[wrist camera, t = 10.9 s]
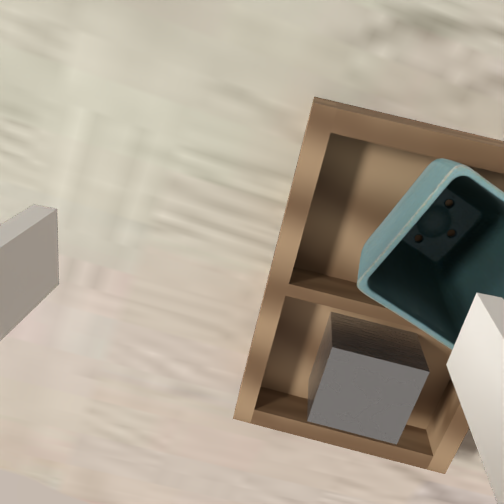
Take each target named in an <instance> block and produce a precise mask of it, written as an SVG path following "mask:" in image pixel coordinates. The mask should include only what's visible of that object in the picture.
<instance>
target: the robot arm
mask: <svg viewBox="0 0 504 504" xmlns="http://www.w3.org/2000/svg"><path fill="white" fill-rule="evenodd" d="M58 285H59V266H58V224H57V209H56V208H51V207H46V206H41V205H36V204H33V205H32V206H30V207H28V208H27V209H25V210H23V211H22V212H20V213H19V214H17V215H15V216H14V217H12V218H10V219H9V220H7V221H5V222H4V223H2V224H1V225H0V341H1V340H2V339H3V338H4V337H5V336H6V335H7V334H8V333H9V332H10V331H11V330H12V329H13V328H14V327H15V326H16V325H17V324H18V323H20V322H21V321H22V320H23V319H24V318H25V317H26V316H27V315H28V314H29V313H30V312H31V311H32V310H33V309H34V308H35V307H36V306H37V305H38V304H39V303H40V302H41V301H42V300H43V299H44V298H45V297H46V296H47V295H48V294H49V293H50V292H51V291H52V290H53V289H54V288H55V287H56V286H58ZM446 365H447V368H448V371H449V374H450V376H451V379H452V382H453V384H454V387H455V390H456V393H457V395H458V398H459V401H460V403H461V406H462V409H463V412H464V414H465V417H466V420H467V422H468V425H469V428H470V431H471V433H472V436H473V439H474V441H475V444H476V447H477V450H478V452H479V455H480V458H481V460H482V463H483V466H484V469H485V471H486V474H487V477H488V479H489V482H490V485H491V488H492V490H493V493H494V496H495V498H496V501H497V504H504V299H503V298H501V297H496V296H491V295H486V294H481V293H476V295H475V298H474V300H473V302H472V305H471V307H470V309H469V312H468V314H467V317H466V319H465V321H464V324H463V326H462V328H461V331H460V333H459V336H458V338H457V340H456V343H455V345H454V347H453V350H452V352H451V355H450V357H449V359H448V362H447V364H446Z"/></svg>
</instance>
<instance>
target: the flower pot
mask: <svg viewBox="0 0 504 504" xmlns="http://www.w3.org/2000/svg"><path fill="white" fill-rule="evenodd" d="M447 200H452V201H453V204H452V205H451V206H446V204H445V202H446V201H447ZM449 230H454V231H455V234H454V235H453V236H448V234H447V233H448V231H449ZM416 235H421V236H422V240H421V241H415V236H416ZM357 287H358V289H359V290H360V291H361V292H363V293H364V294H365V295H367V296H368V297H370V298H372V299H373V300H375V301H377V302H378V303H380V304H381V305H383V306H384V307H386V308H388V309H389V310H391V311H393V312H394V313H396V314H398V315H399V316H400V317H402V318H404V319H405V320H407V321H408V322H410V323H412V324H413V325H415V326H416V327H418V328H419V329H421V330H423V331H424V332H425V333H427V334H428V335H430V336H431V337H433V338H434V339H436V340H437V341H439V342H440V343H442V344H443V345H445V346H447V347H448V348H450V349H451V350H453V347H454V345H455V343H456V340H457V338H458V336H459V333H460V331H461V328H462V326H463V324H464V321H465V319H466V317H467V314H468V312H469V309H470V307H471V305H472V302H473V300H474V298H475V295H476V293H481V294H486V295H491V296H496V297H501V298H503V299H504V192H503V191H501V190H500V189H499V188H497V187H496V186H495V185H493V184H492V183H490V182H489V181H488V180H486V179H485V178H483V177H482V176H481V175H480V174H478V173H477V172H475V171H474V170H473V169H471V168H470V167H468V166H466V165H464V164H461V163H458V162H455V161H452V160H449V159H444V158H440V159H436V160H434V161H433V162H431V163H430V164H429V165H428V166H427V167H426V168H425V170H424V171H423V172H422V173H421V175H420V176H419V177H418V178H417V180H416V181H415V182H414V183H413V185H412V186H411V187H410V188H409V190H408V191H407V192H406V193H405V195H404V196H403V197H402V198H401V200H400V201H399V202H398V203H397V205H396V206H395V207H394V208H393V209H392V211H391V212H390V213H389V214H388V216H387V217H386V218H385V219H384V220H383V222H382V223H381V224H380V225H379V227H378V228H377V229H376V230H375V231H374V232H373V234H372V235H371V236H370V237H369V239H368V240H367V241H366V243H365V244H364V246H363V249H362V252H361V256H360V263H359V271H358V279H357Z"/></svg>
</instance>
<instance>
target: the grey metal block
mask: <svg viewBox="0 0 504 504" xmlns="http://www.w3.org/2000/svg"><path fill="white" fill-rule="evenodd" d="M429 373H430V371H429V368H428V365H427V362H426V359H425V356H424V353H423V350H422V347H421V344H420V341H419V338H418V335H417V333H414V332H410V331H406V330H402V329H398V328H394V327H390V326H386V325H382V324H378V323H374V322H370V321H367V320H363V319H359V318H355V317H351V316H347V315H343V314H339V313H335V312H331V313H330V316H329V319H328V322H327V325H326V328H325V331H324V334H323V337H322V340H321V343H320V346H319V349H318V352H317V355H316V358H315V362H314V365H313V368H312V371H311V374H310V377H309V381H308V409H307V421H309V422H312V423H316V424H320V425H324V426H328V427H332V428H335V429H339V430H343V431H347V432H351V433H355V434H358V435H362V436H366V437H370V438H374V439H378V440H382V441H385V442H389V443H393V444H397V443H398V441H399V439H400V436H401V434H402V432H403V430H404V428H405V425H406V423H407V421H408V419H409V417H410V414H411V412H412V410H413V408H414V406H415V403H416V401H417V399H418V397H419V395H420V392H421V390H422V388H423V386H424V384H425V381H426V379H427V377H428V375H429Z"/></svg>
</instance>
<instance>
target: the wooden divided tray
mask: <svg viewBox="0 0 504 504" xmlns="http://www.w3.org/2000/svg"><path fill="white" fill-rule="evenodd" d="M440 158H444V159H449V160H452V161H455V162H458V163H461V164H464V165H466V166H468V167H470V168H471V169H473V170H474V171H475V172H477V173H478V174H480V175H481V176H482V177H483V178H485V179H486V180H488V181H489V182H490V183H492V184H493V185H495V186H496V187H497V188H499V189H500V190H501V191H503V192H504V141H500V140H496V139H492V138H487V137H483V136H479V135H475V134H470V133H466V132H462V131H458V130H453V129H449V128H445V127H441V126H436V125H432V124H428V123H424V122H420V121H415V120H411V119H407V118H403V117H398V116H394V115H390V114H386V113H381V112H377V111H373V110H369V109H364V108H360V107H356V106H352V105H347V104H343V103H339V102H335V101H331V100H326V99H322V98H318V97H314V99H313V103H312V107H311V111H310V115H309V119H308V123H307V127H306V131H305V135H304V139H303V143H302V147H301V151H300V155H299V159H298V162H297V166H296V170H295V174H294V178H293V182H292V186H291V190H290V194H289V198H288V202H287V206H286V210H285V214H284V218H283V222H282V225H281V229H280V233H279V237H278V241H277V245H276V249H275V253H274V257H273V261H272V265H271V269H270V273H269V277H268V281H267V285H266V288H265V292H264V296H263V300H262V304H261V308H260V312H259V316H258V320H257V324H256V328H255V332H254V336H253V340H252V344H251V348H250V351H249V355H248V359H247V363H246V367H245V371H244V375H243V379H242V383H241V387H240V391H239V395H238V400H237V404H236V408H235V412H234V417H233V419H236V420H240V421H244V422H248V423H252V424H255V425H259V426H263V427H267V428H271V429H274V430H278V431H282V432H286V433H290V434H294V435H297V436H301V437H305V438H309V439H313V440H317V441H320V442H324V443H328V444H332V445H336V446H340V447H343V448H347V449H351V450H355V451H359V452H362V453H366V454H370V455H374V456H378V457H382V458H385V459H389V460H393V461H397V462H401V463H405V464H408V465H412V466H416V467H420V468H424V469H427V470H431V471H435V472H439V473H443V474H445V473H446V471H447V469H448V467H449V465H450V463H451V461H452V459H453V458H454V456H455V454H456V452H457V450H458V448H459V446H460V444H461V442H462V441H463V439H464V437H465V435H466V433H467V431H468V429H469V425H468V422H467V420H466V417H465V414H464V412H463V409H462V406H461V403H460V401H459V398H458V395H457V393H456V390H455V387H454V384H453V382H452V379H451V376H450V374H449V371H448V368H447V365H446V364H447V362H448V359H449V357H450V355H451V352H452V350H451V349H450V348H448V347H447V346H445V345H443V344H442V343H440V342H439V341H437V340H436V339H434V338H433V337H431V336H430V335H428V334H427V333H425V332H424V331H423V330H421V329H419V328H418V327H416V326H415V325H413V324H412V323H410V322H408V321H407V320H405V319H404V318H402V317H400V316H399V315H398V314H396V313H394V312H393V311H391V310H389V309H388V308H386V307H384V306H383V305H381V304H380V303H378V302H377V301H375V300H373V299H372V298H370V297H368V296H367V295H365V294H364V293H363V292H361V291H360V290H359V289H358V287H357V279H358V271H359V263H360V256H361V252H362V249H363V246H364V244H365V243H366V241H367V240H368V239H369V237H370V236H371V235H372V234H373V232H374V231H375V230H376V229H377V228H378V227H379V225H380V224H381V223H382V222H383V220H384V219H385V218H386V217H387V216H388V214H389V213H390V212H391V211H392V209H393V208H394V207H395V206H396V205H397V203H398V202H399V201H400V200H401V198H402V197H403V196H404V195H405V193H406V192H407V191H408V190H409V188H410V187H411V186H412V185H413V183H414V182H415V181H416V180H417V178H418V177H419V176H420V175H421V173H422V172H423V171H424V170H425V168H426V167H427V166H428V165H429V164H430V163H431V162H433V161H434V160H436V159H440ZM445 204H446V206H451V205H452V204H453V201H452V200H447V201H446V202H445ZM447 234H448V236H453V235H454V234H455V231H454V230H449V231H448V233H447ZM421 240H422V236H421V235H416V236H415V241H421ZM331 312H335V313H339V314H343V315H347V316H351V317H355V318H359V319H363V320H367V321H370V322H374V323H378V324H382V325H386V326H390V327H394V328H398V329H402V330H406V331H410V332H414V333H417V335H418V338H419V341H420V344H421V347H422V350H423V353H424V356H425V359H426V362H427V365H428V368H429V371H430V373H429V375H428V377H427V379H426V381H425V384H424V386H423V388H422V390H421V392H420V395H419V397H418V399H417V401H416V403H415V406H414V408H413V410H412V412H411V414H410V417H409V419H408V421H407V423H406V425H405V428H404V430H403V432H402V434H401V436H400V439H399V441H398V443H397V444H393V443H389V442H385V441H382V440H378V439H374V438H370V437H366V436H362V435H358V434H355V433H351V432H347V431H343V430H339V429H335V428H332V427H328V426H324V425H320V424H316V423H312V422H309V421H307V409H308V381H309V377H310V374H311V371H312V368H313V365H314V362H315V358H316V355H317V352H318V349H319V346H320V343H321V340H322V337H323V334H324V331H325V328H326V325H327V322H328V319H329V316H330V313H331Z"/></svg>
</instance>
